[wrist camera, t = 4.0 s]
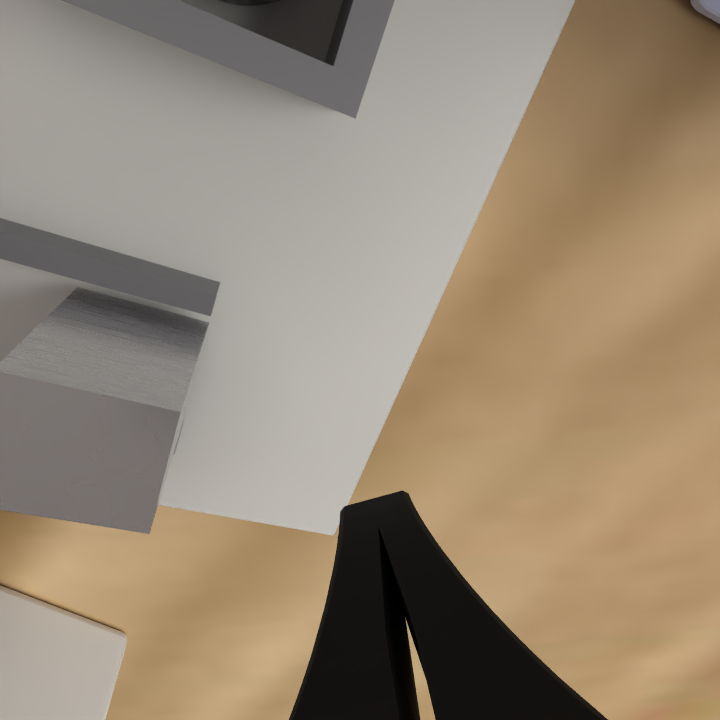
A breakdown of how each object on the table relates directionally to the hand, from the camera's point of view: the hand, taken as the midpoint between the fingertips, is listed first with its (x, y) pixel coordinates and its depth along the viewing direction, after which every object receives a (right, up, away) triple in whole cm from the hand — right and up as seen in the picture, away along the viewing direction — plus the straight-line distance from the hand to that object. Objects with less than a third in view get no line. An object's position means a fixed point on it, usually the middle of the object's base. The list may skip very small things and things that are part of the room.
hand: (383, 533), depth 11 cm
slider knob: (-6, +4, +3) cm, 8 cm away
